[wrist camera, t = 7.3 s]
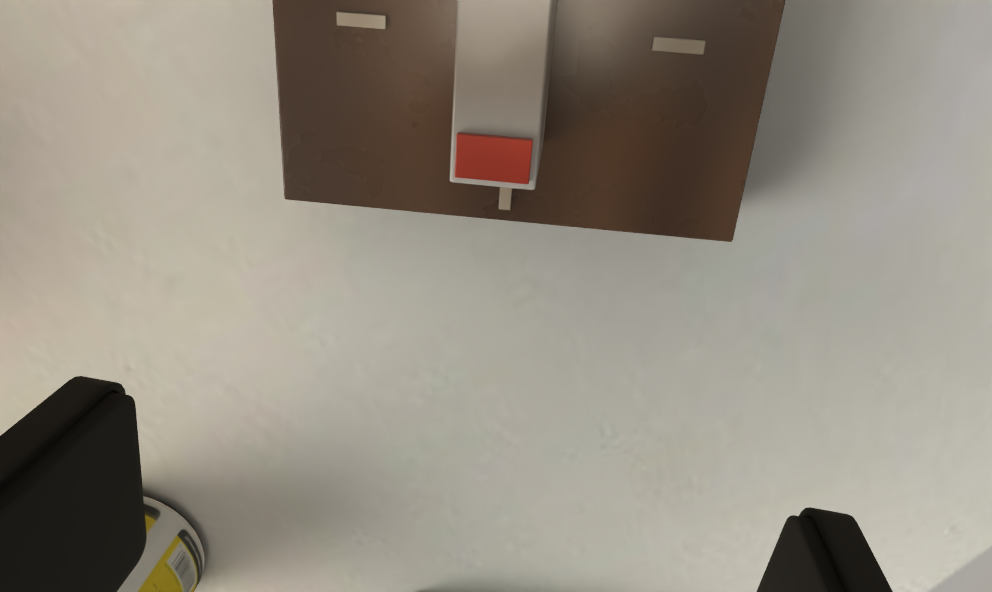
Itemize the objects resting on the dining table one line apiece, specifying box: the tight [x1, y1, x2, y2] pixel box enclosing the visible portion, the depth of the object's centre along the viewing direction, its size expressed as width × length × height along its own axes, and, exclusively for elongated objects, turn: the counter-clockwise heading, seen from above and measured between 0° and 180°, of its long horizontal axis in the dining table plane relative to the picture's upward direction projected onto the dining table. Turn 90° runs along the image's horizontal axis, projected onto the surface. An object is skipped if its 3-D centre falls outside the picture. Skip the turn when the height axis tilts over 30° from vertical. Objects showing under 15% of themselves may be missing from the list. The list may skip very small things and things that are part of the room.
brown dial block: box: [273, 0, 785, 242], centre depth 21 cm, size 14×11×3 cm
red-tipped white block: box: [450, 0, 557, 190], centre depth 17 cm, size 6×2×5 cm, turn 176°
